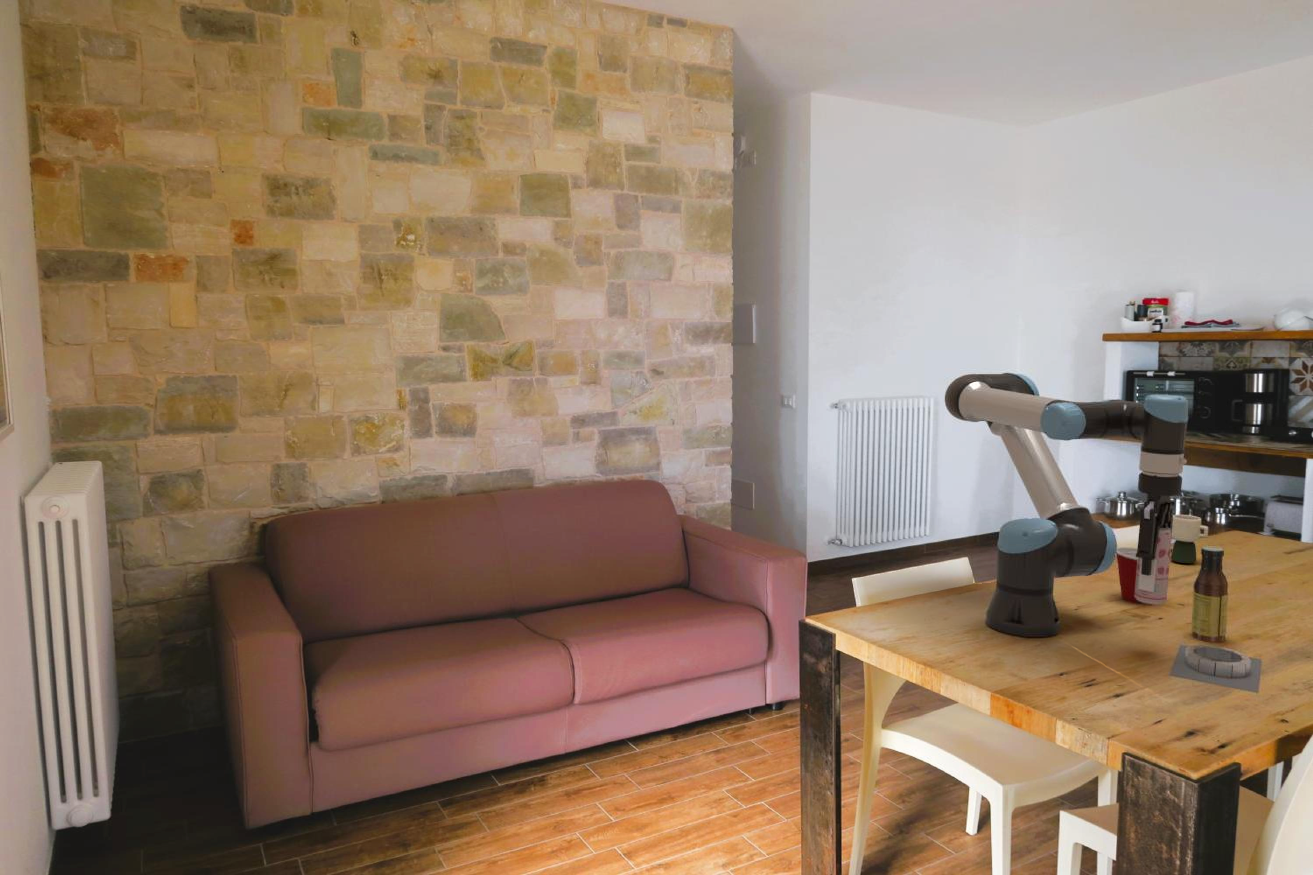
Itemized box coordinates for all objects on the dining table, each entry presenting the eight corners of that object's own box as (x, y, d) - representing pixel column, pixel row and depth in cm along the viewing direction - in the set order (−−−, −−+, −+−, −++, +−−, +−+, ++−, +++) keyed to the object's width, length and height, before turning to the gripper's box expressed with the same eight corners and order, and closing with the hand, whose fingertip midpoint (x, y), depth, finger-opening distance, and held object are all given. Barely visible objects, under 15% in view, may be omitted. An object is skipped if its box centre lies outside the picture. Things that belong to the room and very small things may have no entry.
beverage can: (1130, 600, 180) (1135, 527, 178) (1139, 594, 184) (1145, 523, 182) (1161, 606, 176) (1167, 532, 174) (1170, 600, 180) (1176, 527, 178)
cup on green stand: (1209, 563, 249) (1212, 518, 248) (1201, 568, 245) (1205, 522, 243) (1166, 556, 257) (1169, 512, 256) (1157, 561, 252) (1161, 515, 251)
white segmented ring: (1213, 679, 167) (1214, 666, 167) (1172, 658, 177) (1173, 646, 177) (1262, 675, 169) (1263, 662, 168) (1219, 655, 179) (1220, 643, 178)
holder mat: (1257, 695, 161) (1258, 692, 161) (1168, 677, 169) (1169, 674, 169) (1261, 661, 177) (1261, 659, 177) (1180, 646, 185) (1180, 644, 185)
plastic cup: (1157, 610, 209) (1161, 560, 207) (1107, 601, 215) (1110, 552, 214) (1165, 598, 217) (1168, 550, 216) (1115, 590, 224) (1119, 544, 222)
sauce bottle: (1212, 634, 193) (1220, 544, 190) (1232, 644, 186) (1240, 551, 184) (1182, 634, 192) (1190, 544, 190) (1201, 644, 186) (1209, 551, 184)
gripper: (1166, 481, 168) (1156, 601, 171) (1195, 470, 181) (1185, 581, 184) (1123, 476, 173) (1114, 592, 176) (1155, 465, 186) (1146, 573, 189)
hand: (1151, 586), depth 180 cm, fingers closed on beverage can, 6 cm apart
